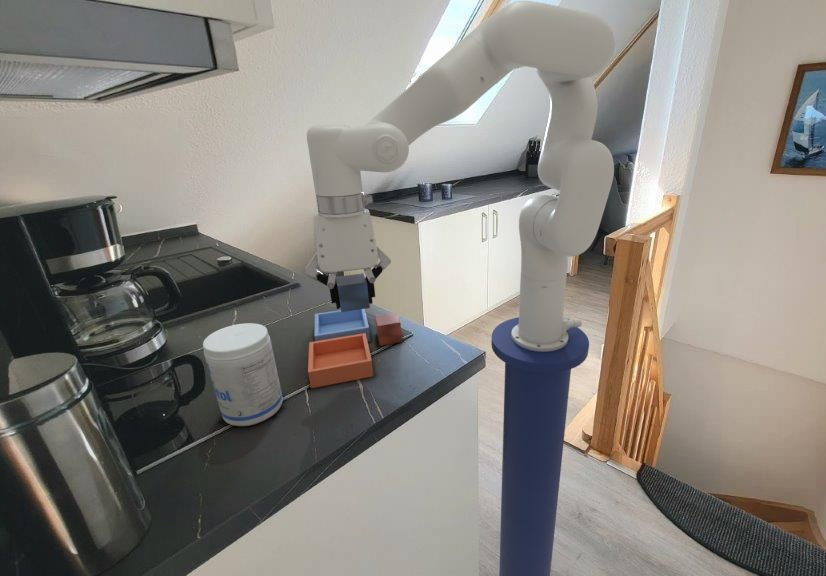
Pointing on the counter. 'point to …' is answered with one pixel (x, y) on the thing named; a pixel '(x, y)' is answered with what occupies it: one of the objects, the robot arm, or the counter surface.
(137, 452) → the counter surface
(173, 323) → the counter surface
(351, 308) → the blue block
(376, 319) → the terracotta block
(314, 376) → the terracotta bin
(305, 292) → the counter surface
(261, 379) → the supplement tub
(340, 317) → the blue bin
